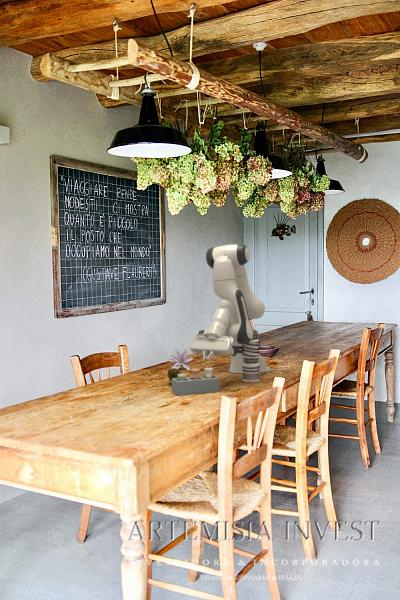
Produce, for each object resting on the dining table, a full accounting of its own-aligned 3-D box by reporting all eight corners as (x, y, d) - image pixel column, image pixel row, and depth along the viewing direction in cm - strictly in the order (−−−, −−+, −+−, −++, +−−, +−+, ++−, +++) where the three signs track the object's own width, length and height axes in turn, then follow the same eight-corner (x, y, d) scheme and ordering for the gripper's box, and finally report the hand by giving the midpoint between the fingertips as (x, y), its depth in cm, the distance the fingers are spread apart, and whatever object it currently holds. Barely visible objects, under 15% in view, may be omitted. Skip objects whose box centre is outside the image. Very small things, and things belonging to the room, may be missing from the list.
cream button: (211, 381, 285) (211, 366, 284) (214, 383, 281) (214, 368, 280) (203, 382, 283) (203, 367, 283) (206, 384, 279) (206, 369, 279)
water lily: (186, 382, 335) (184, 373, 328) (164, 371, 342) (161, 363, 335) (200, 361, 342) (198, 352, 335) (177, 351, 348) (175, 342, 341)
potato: (191, 382, 302) (191, 365, 301) (176, 386, 291) (175, 370, 290) (177, 380, 306) (177, 364, 305) (162, 385, 295) (161, 368, 295)
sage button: (184, 388, 280) (184, 373, 280) (187, 390, 276) (187, 374, 276) (176, 389, 279) (176, 374, 278) (179, 391, 275) (179, 375, 274)
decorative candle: (259, 382, 298) (259, 330, 297) (240, 381, 300) (240, 330, 298) (261, 378, 307) (261, 328, 306) (243, 378, 309) (242, 328, 307)
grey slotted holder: (212, 387, 288) (212, 374, 287) (219, 391, 279) (219, 378, 279) (171, 391, 281) (171, 378, 280) (178, 395, 272) (178, 382, 272)
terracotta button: (198, 383, 282) (198, 368, 282) (201, 384, 279) (201, 369, 278) (190, 383, 281) (189, 368, 280) (193, 385, 277) (192, 370, 277)
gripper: (237, 341, 286) (228, 365, 279) (198, 339, 296) (189, 362, 288) (233, 332, 282) (224, 357, 274) (193, 331, 292) (184, 354, 284)
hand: (205, 360), depth 281 cm, fingers closed
